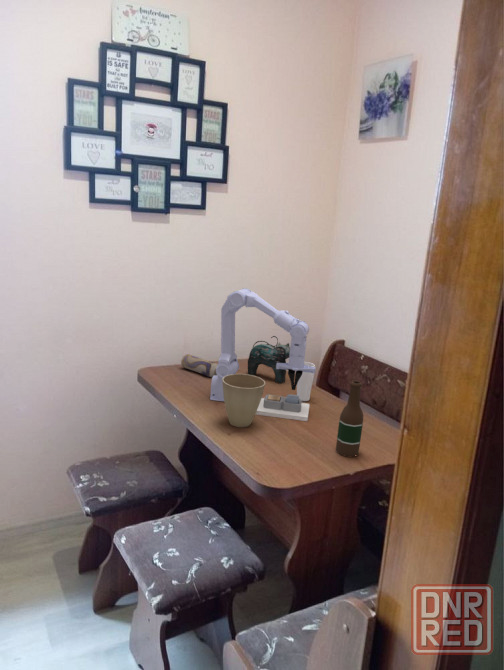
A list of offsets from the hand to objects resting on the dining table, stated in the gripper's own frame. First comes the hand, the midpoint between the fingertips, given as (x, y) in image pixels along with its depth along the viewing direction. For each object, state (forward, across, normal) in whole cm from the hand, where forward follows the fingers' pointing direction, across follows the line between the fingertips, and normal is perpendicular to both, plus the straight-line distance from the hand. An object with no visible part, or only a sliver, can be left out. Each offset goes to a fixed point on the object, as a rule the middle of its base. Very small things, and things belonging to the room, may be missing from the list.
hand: (293, 389), depth 202 cm
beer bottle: (+9, +20, -28) cm, 36 cm away
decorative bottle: (+10, -42, +31) cm, 52 cm away
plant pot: (+10, -17, -17) cm, 25 cm away
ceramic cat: (+10, -14, +35) cm, 39 cm away
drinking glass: (+9, +4, +15) cm, 18 cm away
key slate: (+6, 0, 0) cm, 6 cm away
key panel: (+9, -4, 0) cm, 10 cm away
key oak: (+7, -7, 0) cm, 10 cm away
